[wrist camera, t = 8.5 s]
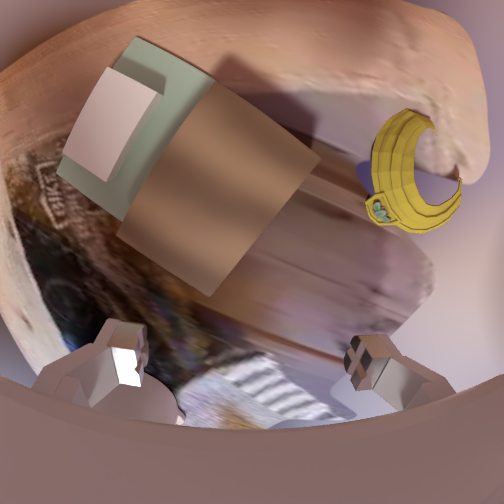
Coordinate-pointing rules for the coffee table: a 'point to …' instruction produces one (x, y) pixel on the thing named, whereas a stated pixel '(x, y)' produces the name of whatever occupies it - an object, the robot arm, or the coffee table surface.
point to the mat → (153, 133)
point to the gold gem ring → (403, 178)
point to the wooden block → (215, 189)
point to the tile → (110, 123)
